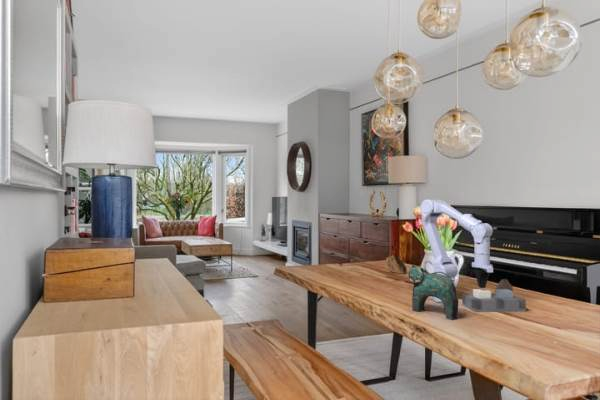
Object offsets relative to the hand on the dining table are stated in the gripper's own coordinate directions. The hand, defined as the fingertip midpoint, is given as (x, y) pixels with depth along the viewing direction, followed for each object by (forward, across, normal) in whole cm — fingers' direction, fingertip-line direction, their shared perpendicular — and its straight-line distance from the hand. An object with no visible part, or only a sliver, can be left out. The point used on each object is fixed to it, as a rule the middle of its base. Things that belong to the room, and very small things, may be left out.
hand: (482, 287), depth 176 cm
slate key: (+5, 0, -9) cm, 10 cm away
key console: (+8, 0, -4) cm, 9 cm away
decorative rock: (+8, +84, +12) cm, 85 cm away
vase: (+8, +14, -16) cm, 23 cm away
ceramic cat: (+8, -8, +23) cm, 26 cm away
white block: (+5, 0, 0) cm, 5 cm away
